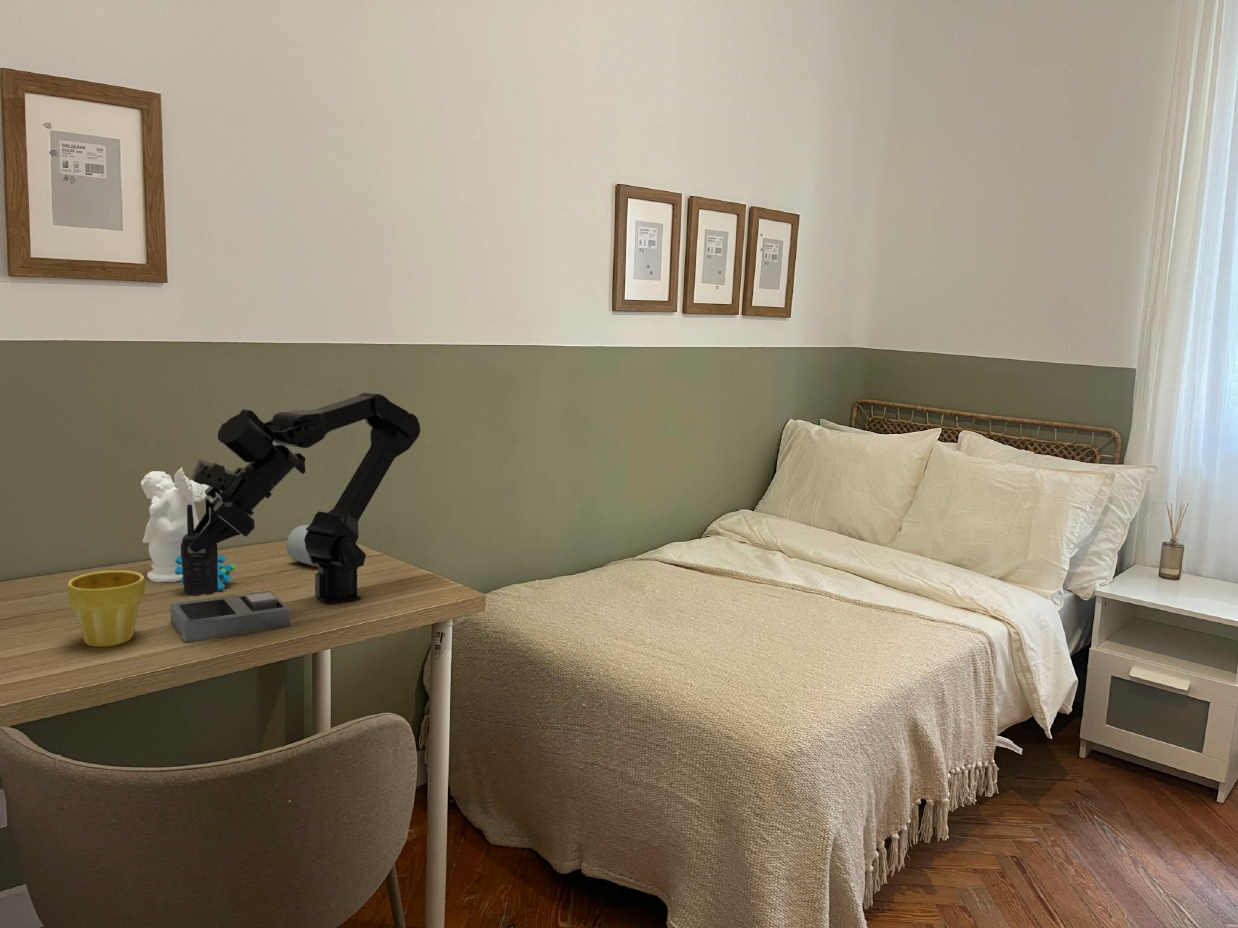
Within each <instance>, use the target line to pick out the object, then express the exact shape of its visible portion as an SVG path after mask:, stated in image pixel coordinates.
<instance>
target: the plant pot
mask: <svg viewBox="0 0 1238 928" xmlns="http://www.w3.org/2000/svg"><path fill="white" fill-rule="evenodd" d="M145 585H146V584H145V577H144V575H143V574H142V573H140V572H138V571H137V572H136V571H133V570H132V571H131V570H105V571H104V570H102V571H95V572H89V573H85V574H81V575H77V576H75V577H73V578H72V579H70V580H69V581H68V583H67V599H68V605H69V606H71V607H72V608H73V609H74V612H75V615H76V619H77V622H78V625H79V628H80V631H81V635H82V640H83V643H84V644H86V645H87V646H90V647H94V648H97V647H99V648H100V647H101V648H104V647H112V646H117V645H122V644H125V643H127V642H129V641H130V640H132V639H133V636H134V632H135V627H136V622H137V618H138V613H139V608H140V603H141V601H142V600H144V598H145V594H146V593H145V592H146V589H145V588H146V587H145Z"/></svg>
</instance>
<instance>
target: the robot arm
mask: <svg viewBox="0 0 1238 928" xmlns="http://www.w3.org/2000/svg"><path fill="white" fill-rule="evenodd" d="M364 420H365V423H366V424H367V425H368V426H369V427H371V430H370V433H369V434H370V435H369V436H370V447H369V449H368V450H367V452H366V453H365V454H364V456H363V459H362V460H361V461H360V463H359V465H358V466H357V469H356V471H355V472H354V473H353V475H352V477H351V478H350V480H349V482H348V483H347V485H346V487H345V489H344V490H343V492H342V493H341V495H340V498H339V499H338V500H337V502H336V504H335V505H334V507H333V508H332V509H330V510H329V511H327V512H326V511H325V512H324V511H320V510H319V511H317V512H316V514H315V515H314V517H313V519H312V521H311V523H310V524H309V525H308V527H307V528H306V530H308V532H307V534H306V536H305V539H304V542H305V547H306V550H307V552H308V554H309V557H310V560H311V563H313V564H318V567H317V572H316V573H315V574H314V579H315V580H314V581H315V582H314V583H315V584H314V589H315V590H314V591H315V592H314V595H315V596H316V597H317V598H318V599H319V600H321V601H322V602H323V603H324V604H334V603H340V602H347V601H355V600H360V599H361V597H362V596H361V595H360V594H359V593H358V570H359V568H360V567H363V566H365V565H364V564H365V561H366V558H367V555H366V553H365V552H364V550H362V549H361V548H360V547H359V545H357V541H358V539H359V520H360V519H361V517H362V515H363V514H364V512H365V511H366V509H367V507H368V505H369V504H370V501H371V500H372V499H373V496H374V495H375V493H376V492H377V490H378V488H379V486H380V484H381V483H382V481H383V479H384V478H385V476H386V474H387V472H388V470H390V467H391V466H392V463H393V462H394V461H395V459H396V458H398V457H399V456H401V455H402V454H404V453H405V452H407V451H409V449H410V448H411V447H412V445H414V443H415V442H416V441H417V439H418V438H419V437H420V434H421V424H420V422H419V420H418V417H417V416H416V415H415V414H413V413H410V412H408V410H406V409H404V408H403V407H400V406H399V405H397V404H396V403H394V402H392V401H390V400H389V398H387V397H386V396H384V395H383V394H381V393H375V392H374V393H373V392H362V393H360V394H358V395H357V396H353V397H350V398H347V399H344V400H341V401H337V402H335V403H334V402H333V403H331V404H329V405H325V406H322V407H319V408H315V409H305V410H303V409H301V410H299V409H298V410H286V411H279V412H277V413H275V414H274V415H272V419H271V420H269V421H264V422H263V421H262V420H261V419H260V418H259V417H258V416H257V414H256V413H255V412H254V411H253V410H250V409H244V408H243V409H241V410H240V412H239V414H237V415H234V416H233V417H230V418H229V419H228V420H226V422H224V423H222V424H221V426H220V427H219V429H218V431H217V432H218V433H217V439H218V441H219V442H220V444H222V445H223V446H224V447H226V449H229V450H230V451H231V453H233V454H234V455H235V456H237V457H238V458H239V459H240V460H242V461H243V462H244V463H247V464H246V465H245V466H244V467H242V466H241V467H239V466H238V467H237V468H236V469H235V470H234V471H231V470H229V469H225V466H224V465H223V464H222V465H220V464H218V463H217V462H213V463H210V462H207V461H204V460H202V459H199V460H198V461H197V463H196V466H195V468H194V471H192V472H193V473H192V475H191V480H193V481H194V482H196V483H198V484H201V485H202V484H205V485H208V486H209V487H208V488H207V489H206V490H205V491H204V492H205V493H206V497H205V498H204V500H203V501H204V512H203V515H202V516H201V518H200V519H199V523H198V524H197V526H196V527H195V529H194V533H199V532H200V531H201V532H200V534H199V535H198V537H197V538H196V539H195V541H194V542H193V544H192V545H191V547H190V550H192V551H193V552H198V551H200V550H202V549H205V548H207V547H209V546H212V545H214V544H216V543H217V544H218V543H221V542H224V541H225V540H228V539H230V538H233V537H236V536H240V535H243V536H244V537H248V536H249V535H250V534H251V532H252V531H253V530H254V529H255V519H254V518H253V516H252V515H254V513H255V512H254V511H253V510H254V509H255V508H256V507H257V506H258V505H259V504H260V503H261V502H262V501H263V500H264V499H265V498H266V499H270V498H271V497H272V495H273V493H272V491H273V490H274V489H275V488H276V487H277V486H278V485H279V484H280V483H281V482H282V481H283V480H284V478H286V477H287V476H288V474H290V472H292V471H293V470H294V469H296V470H297V472H299V473H300V474H302V475H304V474H305V473H306V460H307V459H306V457H305V456H304V455H303V454H302V453H300V452H296V453H294V452H293V451H292V450H290V448H288V447H294V448H299V449H308V448H311V447H313V446H314V445H316V444H317V443H320V442H321V441H323V440H324V438H325V437H326V436H327V434H328V433H330V432H332V431H335V430H337V429H341V428H344V427H347V426H349V425H353V424H354V423H357V422H360V421H364ZM273 443H276V444H277V445H275V444H273ZM207 496H208V497H211V498H210V499H208V498H207ZM204 526H205V527H204ZM202 527H204V528H203V530H202Z"/></svg>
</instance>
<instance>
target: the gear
mask: <svg viewBox="0 0 1238 928" xmlns="http://www.w3.org/2000/svg"><path fill="white" fill-rule="evenodd" d="M225 561H226V557H225V556H224V555H223V554H219V555H218V557H217V563H218V589H217V591H216V592H218V591H222V590H224V588H225V587H226V586H225V584H228V582H229V581H230V580H231V579H232V576H231V575H230V574H231V573H230V572H233V571H234V570H235V568H236V567H237V564H235V563H234V562H231V563H230V564H225V565H223V563H225ZM175 563H177V564H180V565H182V558H181V556H179V557H178V558H177V559H176V561H175ZM175 574H177V575H180V574H183V572H182V567H180V566H177V568H176V570H175ZM222 581H223V582H222ZM179 582H181V585H183V586H184V583H183V577H182V578H181V580H180V581H179Z"/></svg>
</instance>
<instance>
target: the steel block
mask: <svg viewBox="0 0 1238 928" xmlns="http://www.w3.org/2000/svg"><path fill="white" fill-rule="evenodd" d="M274 595H275V594H274ZM274 595H272V594H271V593H270V592H269V593H261V594H254V595H246V605H247V606H248V607H249V608H250V609H251V610H252V611H260V610H267V609H274V608H277V598H278V597H277V596H276V595H275V596H276V597H277V598H276V597H275V596H274Z"/></svg>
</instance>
